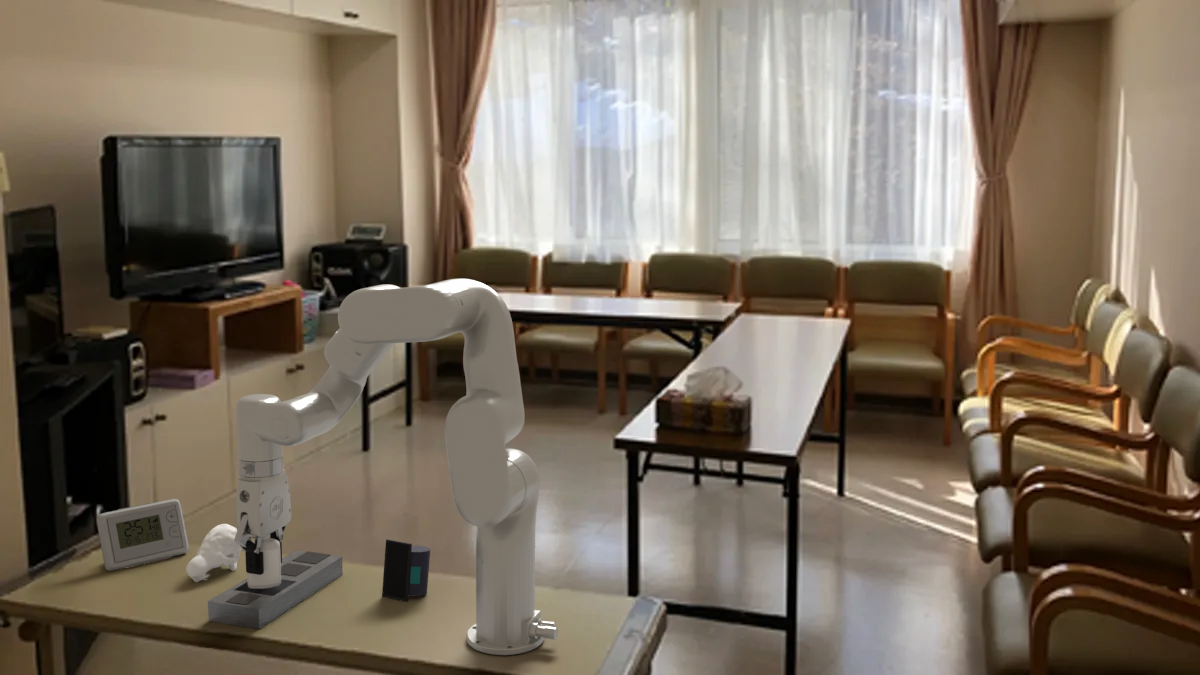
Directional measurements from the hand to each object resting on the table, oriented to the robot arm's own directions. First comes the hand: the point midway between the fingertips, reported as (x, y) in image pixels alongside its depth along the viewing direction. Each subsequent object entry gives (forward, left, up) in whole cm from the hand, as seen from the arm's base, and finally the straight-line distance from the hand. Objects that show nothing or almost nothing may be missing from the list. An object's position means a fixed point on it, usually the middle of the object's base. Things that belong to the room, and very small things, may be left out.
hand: (264, 566), depth 189 cm
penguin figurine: (+18, -9, -7) cm, 21 cm away
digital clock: (+35, -11, -7) cm, 37 cm away
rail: (0, -4, -7) cm, 8 cm away
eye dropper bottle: (0, 0, -4) cm, 4 cm away
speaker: (-21, -13, -7) cm, 26 cm away
